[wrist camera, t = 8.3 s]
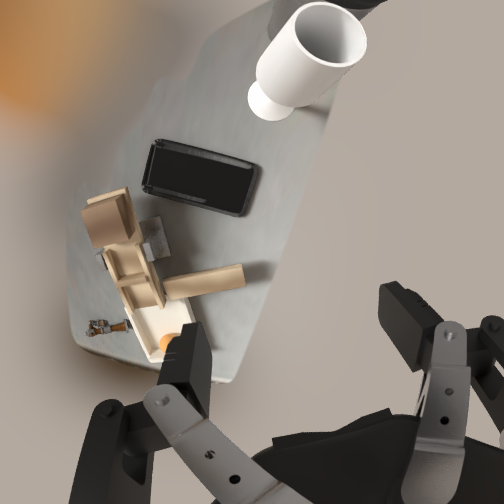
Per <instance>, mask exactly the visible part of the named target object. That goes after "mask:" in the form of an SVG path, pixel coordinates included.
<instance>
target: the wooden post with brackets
mask: <svg viewBox="0 0 504 504" xmlns="http://www.w3.org/2000/svg"><path fill="white" fill-rule="evenodd" d="M88 324H89V330H87V332H85V333H84V334H85V336H88V337H93V336H95V335H97V334H102V335H103V334H104V333H105V334H107V333H111V332H113V331H127V333H128V332H129V330H128V326H127V321H126V319H124V322H122V323H120V324H117V325H113V326H110V325H109V326H104V324H107V322H106V321H103V320H100V321H98V320H97V322H95V323H94V324H95V326H96V325H97V326H98V327H99V326H104V327H103V328H102V327H101V328H98V329H96V328H95V327H93V326H94V324H93V323H92V321H91V320H90V321H89V323H88ZM92 324H93V325H92Z"/></svg>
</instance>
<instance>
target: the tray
mask: <svg viewBox="0 0 504 504" xmlns="http://www.w3.org/2000/svg"><path fill="white" fill-rule="evenodd" d="M165 297H166V299H167V301H166V304H165V307H164V309H162V310H160V308H159V306H158V305H157V306H151V307H145V308H139V309H135V311H134V313H133V314H129V312H128V310H127V308H126V306H125V307H124V308H125V310H126V313H127V315H128V317H129V320H130V322H131V324H132V326H133V329H134V331H135V333H136V335H137V337H138V339H139V341H140V344H141V346H142V348H143V350H144V352H145V354H146V356H147V358H148V360H149V361H150V363H155V362H164V361H163V359H164V355H165V353H164V352H163V351H162V350H161V349H160V345H159V343H160V339H161V338H162V337H163V336H164V335H166V334H173V335H175V336H180V334H181V330H182V326H183V324H187V323H194V322H196V320H195V317H194V314H193V311H192V308H191V305H190V302H189V299H188V297H185V298H180V299H174V300H169V299H168V296H167V294H165Z"/></svg>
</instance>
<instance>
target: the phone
mask: <svg viewBox="0 0 504 504" xmlns="http://www.w3.org/2000/svg"><path fill="white" fill-rule="evenodd" d="M257 174H258V168H257V166H256V165H255V164H253V163H251V162H248V161H244V160H241V159H238V158H234V157H231V156H227V155H224V154H220V153H216V152H213V151H209V150H205V149H201V148H198V147H194V146H190V145H186V144H182V143H177V142H173V141H169V140H165V139H156V140H155V141H154V142H153V143H152V145H151V148H150V152H149V156H148V160H147V164H146V168H145V172H144V176H143V180H142V189H143V191H144V192H145V193H148V194H151V195H155V196H159V197H163V198H167V199H170V200H174V201H178V202H182V203H186V204H189V205H193V206H197V207H201V208H204V209H208V210H212V211H215V212H219V213H222V214H226V215H230V216H233V217H241V216H243V215H244V214H245V212H246V209H247V206H248V202H249V199H250V196H251V193H252V190H253V187H254V184H255V181H256V177H257Z"/></svg>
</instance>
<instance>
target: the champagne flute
mask: <svg viewBox="0 0 504 504" xmlns="http://www.w3.org/2000/svg"><path fill="white" fill-rule="evenodd" d="M366 47H367V37H366V34H365V31H364V29H363V27H362V25H361V24H360V22H359V21H358V20H357V19H356V18H355V17H354V16H353V15H352V14H351V13H350V12H349V11H347V10H346V9H344V8H342V7H340V6H338V5H335V4H332V3H327V2H312V3H308V4H305V5H303V6H302V7H300V8H299V9H298V10H297V11H296V12H295V13H294V14H293V15H292V16H291V18H290V19H289V20H288V21H287V23H286V24H285V25H284V27H283V28H282V29H281V30H280V32H279V33H278V34H277V36H276V37H275V38H274V40H273V41H272V42H271V44H270V45H269V46H268V48H267V49H266V50H265V52H264V53H263V55H262V56H261V57H260V59H259V61H258V63H257V67H256V78H257V81H256V82H254V83H253V85H252V86H251V88H250V90H249V93H248V102H249V105H250V108H251V109H252V111H253V112H254V113H255V114H256V115H257V116H259V117H260V118H262V119H265V120H269V121H278V120H282V119H284V118H286V117H288V116H289V115H290V114H291V113H292V112H293V110H294V108H297V107H304V106H307V105H310V104H312V103H314V102H315V101H316V100H318V99H319V98H320V97H321V96H322V95H323V94H324V93H325V92H326V91H327V90H328V89H329V88H330V87H331V86H332V85H333V84H334V83H335V82H337V81H338V80H339V79H340V78H341V77H342V76H343V75H344V74H345V73H346V72H347V71H348V70H349V69H350V68H351V67H353V66H354V65H355V64H356V63H357V62H358V61H359V60H360V59H361V58H362V57H363V55H364V53H365V51H366Z"/></svg>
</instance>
